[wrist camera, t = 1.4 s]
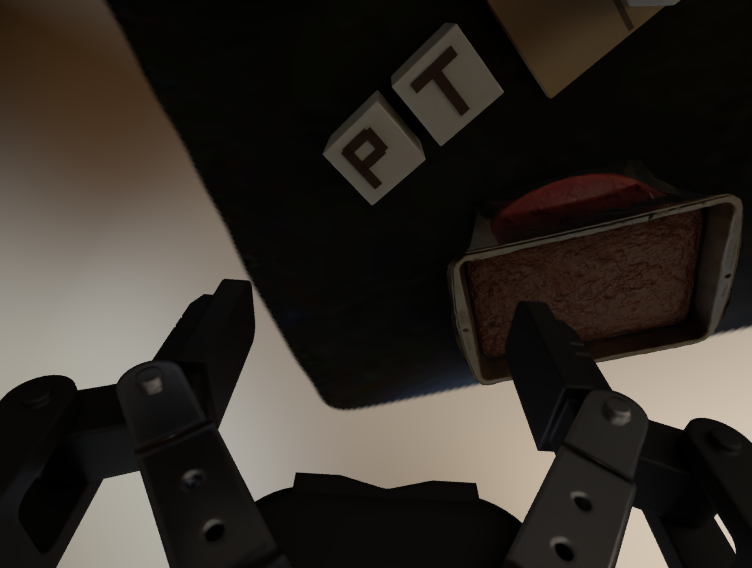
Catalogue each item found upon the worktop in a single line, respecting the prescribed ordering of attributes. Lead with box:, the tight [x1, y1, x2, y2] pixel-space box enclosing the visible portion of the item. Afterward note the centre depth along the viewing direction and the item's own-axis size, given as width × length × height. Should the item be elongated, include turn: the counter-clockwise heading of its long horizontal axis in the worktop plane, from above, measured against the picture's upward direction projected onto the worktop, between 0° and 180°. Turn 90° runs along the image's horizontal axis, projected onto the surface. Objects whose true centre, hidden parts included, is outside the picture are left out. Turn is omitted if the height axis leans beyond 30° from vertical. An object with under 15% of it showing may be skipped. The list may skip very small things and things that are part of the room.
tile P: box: [323, 90, 425, 205], centre depth 27 cm, size 4×4×4 cm
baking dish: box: [446, 160, 744, 385], centre depth 30 cm, size 14×18×10 cm
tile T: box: [391, 23, 504, 146], centre depth 25 cm, size 4×4×4 cm
